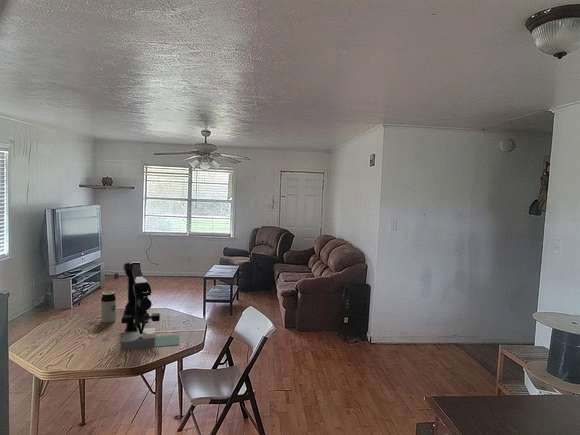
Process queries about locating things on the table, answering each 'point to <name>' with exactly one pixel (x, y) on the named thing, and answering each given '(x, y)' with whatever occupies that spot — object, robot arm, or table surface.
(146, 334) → the block
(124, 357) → the table surface
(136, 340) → the grey flat box
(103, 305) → the travel mug
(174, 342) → the mat
